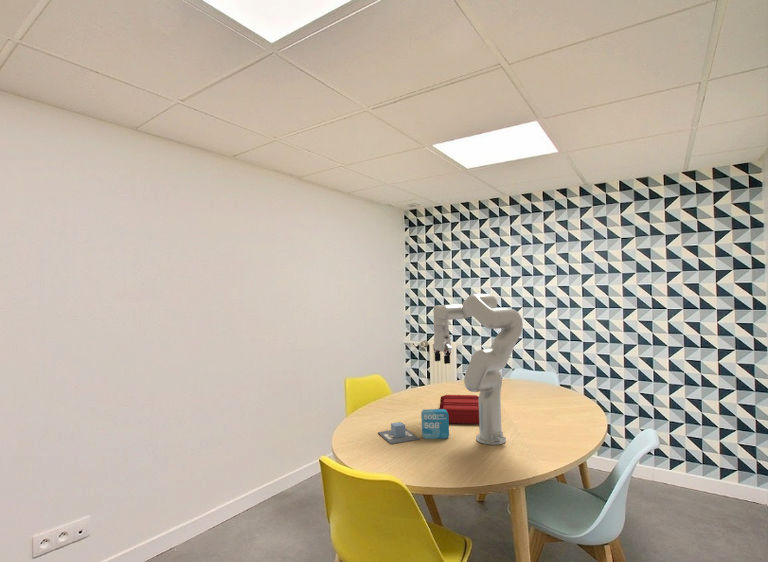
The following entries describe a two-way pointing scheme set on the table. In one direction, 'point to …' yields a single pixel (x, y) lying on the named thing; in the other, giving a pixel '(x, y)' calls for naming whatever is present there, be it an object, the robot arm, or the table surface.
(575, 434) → the table surface
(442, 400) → the first aid kit
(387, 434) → the letter mat
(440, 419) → the data package
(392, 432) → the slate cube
